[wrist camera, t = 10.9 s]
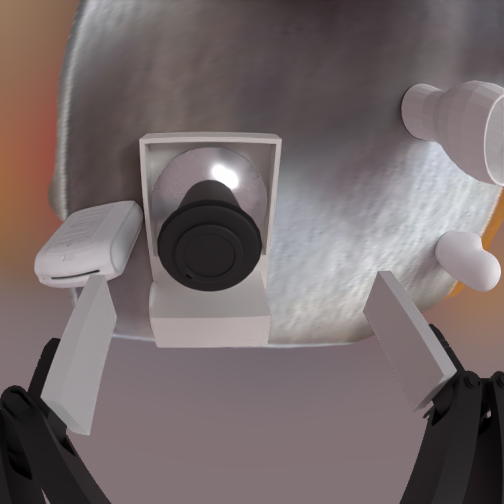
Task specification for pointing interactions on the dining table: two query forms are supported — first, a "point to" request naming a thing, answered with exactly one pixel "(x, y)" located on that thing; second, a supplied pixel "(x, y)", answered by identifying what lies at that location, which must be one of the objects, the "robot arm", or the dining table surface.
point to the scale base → (218, 302)
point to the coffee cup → (209, 239)
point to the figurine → (467, 260)
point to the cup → (461, 125)
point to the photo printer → (90, 245)
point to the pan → (209, 168)
